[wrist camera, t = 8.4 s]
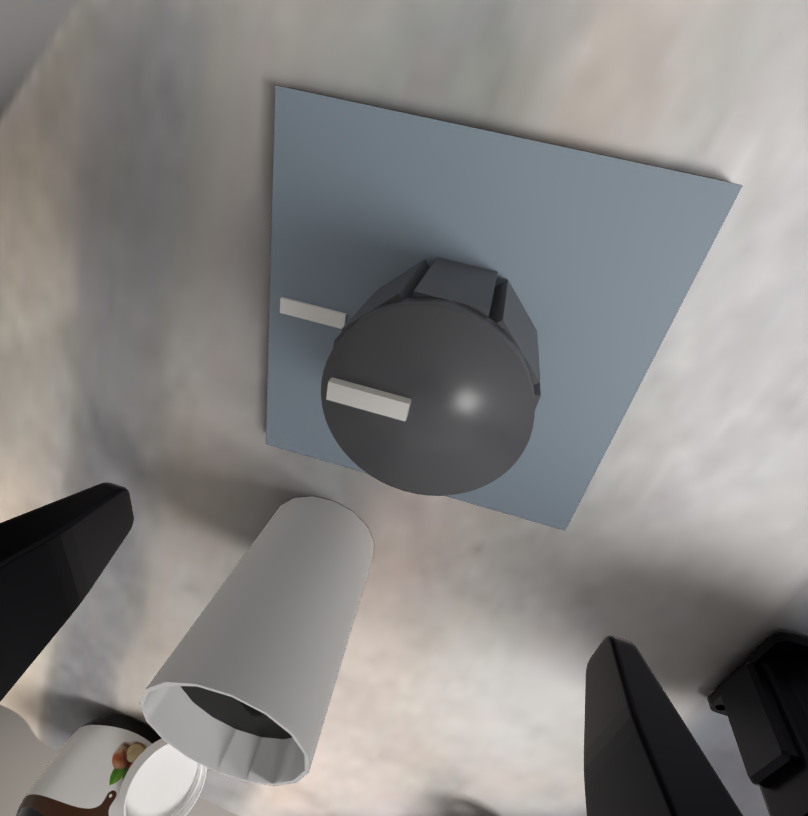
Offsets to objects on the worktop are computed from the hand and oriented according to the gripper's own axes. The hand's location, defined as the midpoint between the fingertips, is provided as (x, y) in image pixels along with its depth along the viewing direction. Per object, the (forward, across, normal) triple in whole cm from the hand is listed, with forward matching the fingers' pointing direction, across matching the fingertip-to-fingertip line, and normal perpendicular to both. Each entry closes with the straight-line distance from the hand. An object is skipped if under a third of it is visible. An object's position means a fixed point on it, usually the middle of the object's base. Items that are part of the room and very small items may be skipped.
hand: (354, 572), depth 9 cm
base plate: (+12, 0, 0) cm, 12 cm away
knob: (+11, 0, 0) cm, 11 cm away
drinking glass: (+12, +4, +13) cm, 18 cm away
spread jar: (+12, +18, +46) cm, 51 cm away
